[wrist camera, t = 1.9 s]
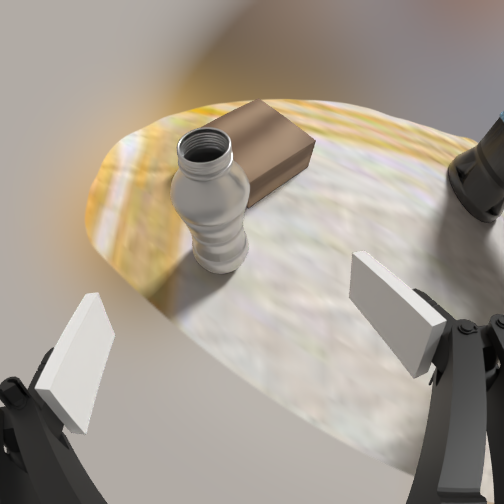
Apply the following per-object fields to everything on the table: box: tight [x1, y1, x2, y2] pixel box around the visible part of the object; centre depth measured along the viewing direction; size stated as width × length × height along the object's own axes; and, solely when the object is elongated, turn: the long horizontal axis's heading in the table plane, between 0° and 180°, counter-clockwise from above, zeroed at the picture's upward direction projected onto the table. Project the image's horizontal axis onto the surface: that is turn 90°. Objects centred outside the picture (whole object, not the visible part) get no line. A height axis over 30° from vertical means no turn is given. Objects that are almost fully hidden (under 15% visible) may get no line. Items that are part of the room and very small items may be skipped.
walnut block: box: [201, 99, 316, 208], centre depth 39 cm, size 12×12×6 cm
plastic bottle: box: [170, 127, 250, 274], centre depth 27 cm, size 6×7×20 cm
